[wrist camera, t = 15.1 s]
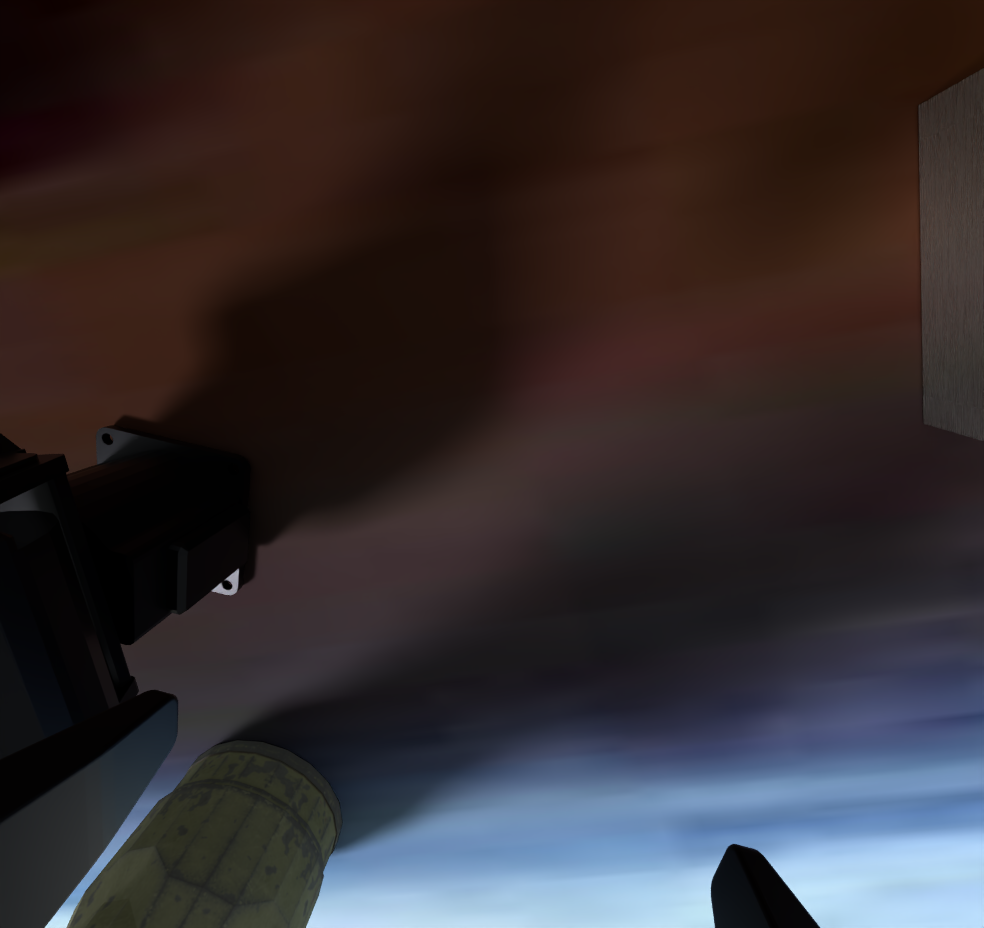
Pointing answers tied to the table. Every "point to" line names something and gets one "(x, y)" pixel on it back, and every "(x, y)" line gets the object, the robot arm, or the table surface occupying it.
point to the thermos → (223, 848)
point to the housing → (953, 256)
